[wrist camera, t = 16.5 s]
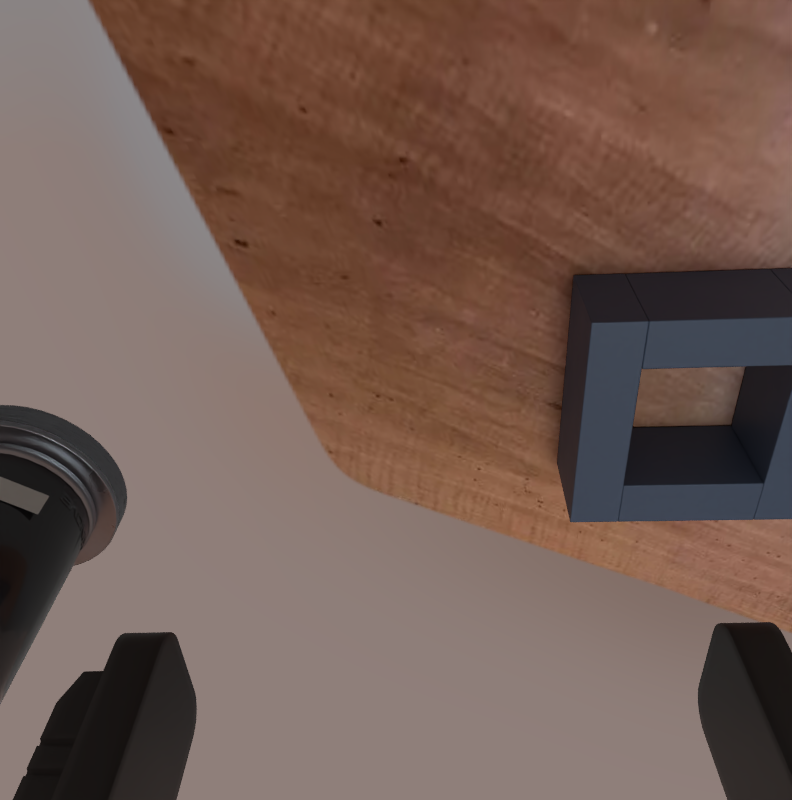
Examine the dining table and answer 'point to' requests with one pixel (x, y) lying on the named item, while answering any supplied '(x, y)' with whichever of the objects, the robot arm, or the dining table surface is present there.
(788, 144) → the dining table surface
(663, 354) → the holder
